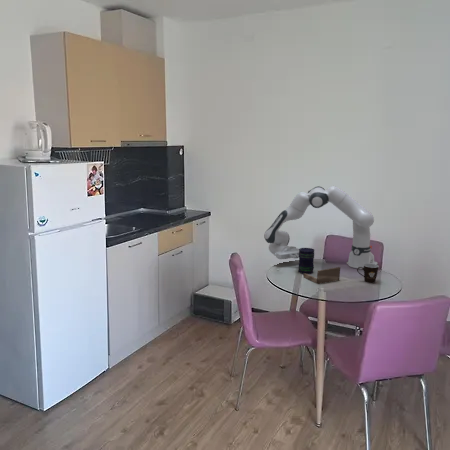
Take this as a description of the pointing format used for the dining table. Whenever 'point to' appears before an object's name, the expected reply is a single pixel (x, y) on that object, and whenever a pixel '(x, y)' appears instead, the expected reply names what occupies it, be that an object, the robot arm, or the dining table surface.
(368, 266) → the coffee mug
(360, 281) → the dining table surface
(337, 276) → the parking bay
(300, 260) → the dark blue cylinder
